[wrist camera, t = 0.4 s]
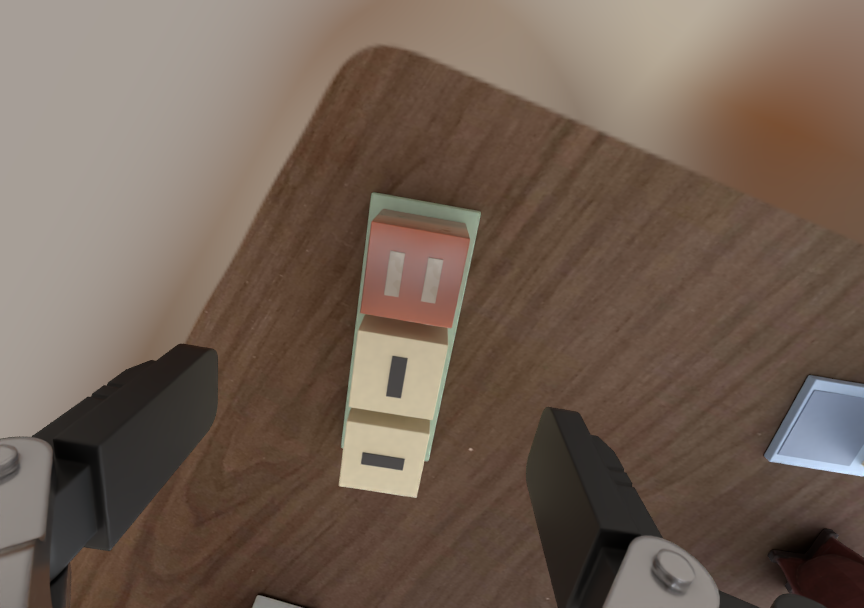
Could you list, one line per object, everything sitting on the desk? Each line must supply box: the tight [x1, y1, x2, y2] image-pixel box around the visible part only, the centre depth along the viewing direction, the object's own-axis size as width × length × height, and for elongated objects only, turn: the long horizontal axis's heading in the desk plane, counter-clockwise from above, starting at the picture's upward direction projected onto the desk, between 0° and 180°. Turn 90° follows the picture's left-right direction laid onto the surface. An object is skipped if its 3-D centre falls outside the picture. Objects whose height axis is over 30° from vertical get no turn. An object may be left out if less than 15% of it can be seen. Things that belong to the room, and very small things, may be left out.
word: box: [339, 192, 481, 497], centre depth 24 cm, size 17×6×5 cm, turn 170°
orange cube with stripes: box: [360, 209, 470, 328], centre depth 22 cm, size 5×5×4 cm
